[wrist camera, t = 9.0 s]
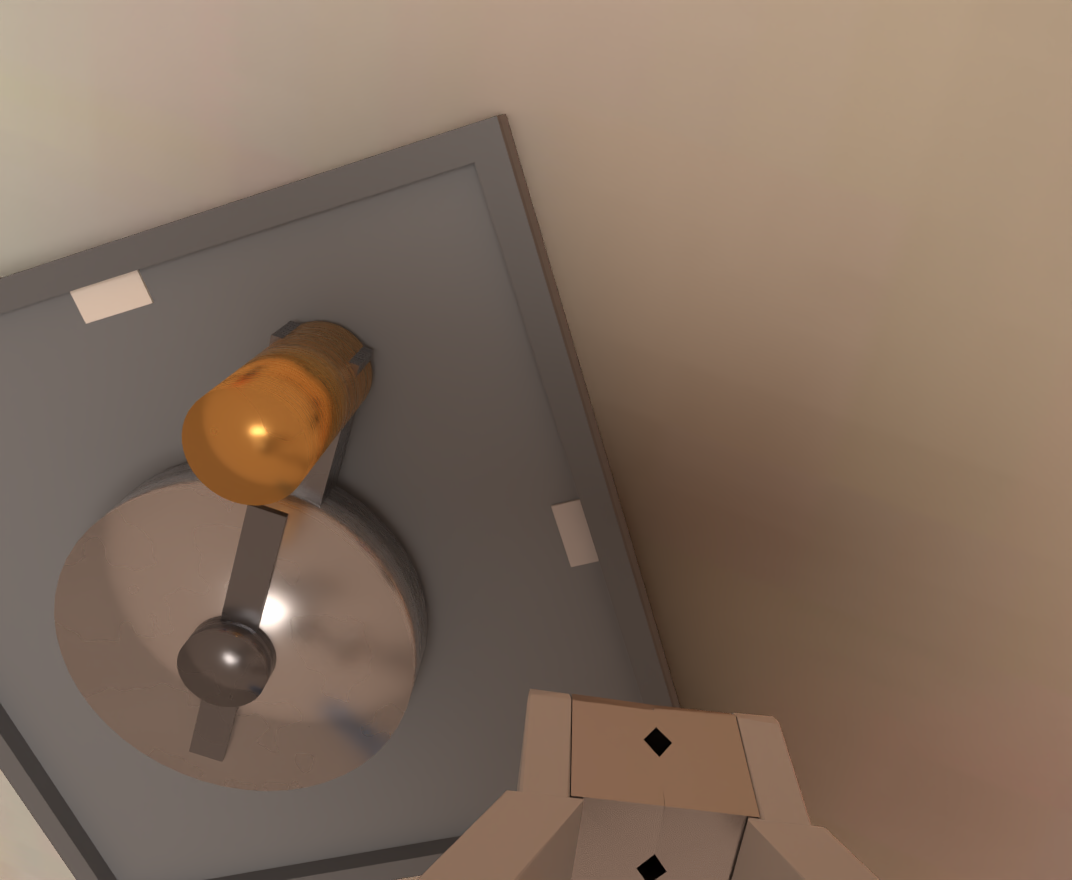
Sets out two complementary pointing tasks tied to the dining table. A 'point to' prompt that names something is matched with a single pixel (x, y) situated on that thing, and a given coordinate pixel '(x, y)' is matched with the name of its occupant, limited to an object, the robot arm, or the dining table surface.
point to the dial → (251, 586)
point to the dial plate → (365, 473)
